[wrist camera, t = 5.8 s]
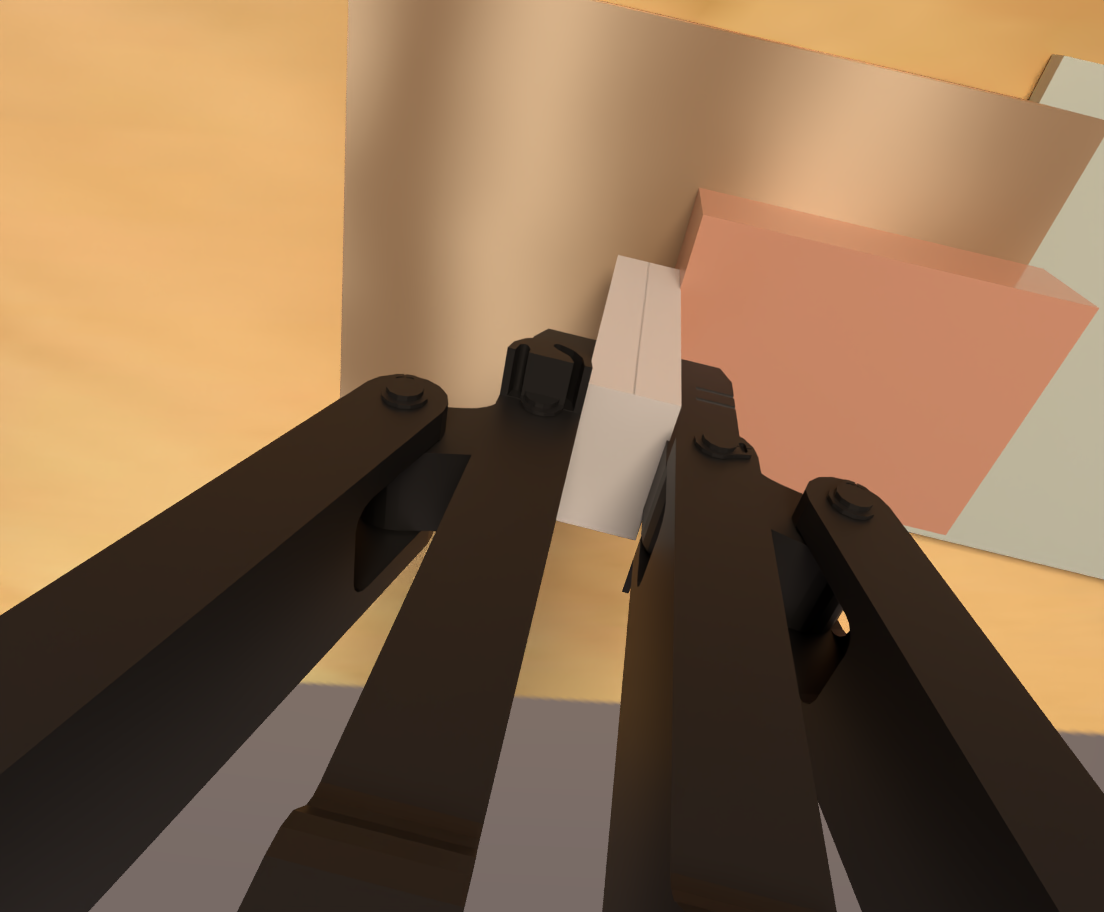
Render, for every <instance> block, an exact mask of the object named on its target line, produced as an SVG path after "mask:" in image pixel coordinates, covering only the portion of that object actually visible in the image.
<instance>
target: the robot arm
mask: <svg viewBox="0 0 1104 912" xmlns="http://www.w3.org/2000/svg"><path fill="white" fill-rule="evenodd" d="M733 397H734V394H733V387H732V382H731V381H730V380H729V378H728V377H727V376H726V375H725V374H724V372H723V371H722V370H721V369H720V368H717V367H713V366H708V365H704V364H700V363H696V362H692V361H688V360H684V359H681V290H680V270H679V269H675V268H670V267H666V266H662V265H658V264H654V263H650V262H646V261H641V260H637V259H633V258H629V257H625V256H621V255H618V257H617V261H616V265H615V269H614V273H613V277H612V281H611V285H610V289H609V293H608V297H607V301H606V305H605V309H604V313H603V317H602V321H601V325H600V329H599V333H598V337H597V340H594V339H590V338H585V337H581V336H577V335H573V334H569V333H565V332H561V331H557V330H553V329H547V330H545V331H543V332H541V333H539V334H537V335H535V336H534V337H533V338H524V339H520V340H517V341H514V342H513V343H512V344H511V345H510V346H508V348H507V354H506V360H505V366H504V372H503V378H502V384H501V390H500V395H499V397H498V399H497V401H496V403H495V404H494V405H491V406H487V407H480V408H454V407H448V404H449V403H448V396H447V394H446V393H445V391H444V390H443V389H442V388H441V387H440V386H438V385H437V384H435V383H433V382H431V381H429V380H427V379H423V378H420V377H417V376H414V375H409V374H406V375H404V374H393V375H386V376H379V377H377V378H374V379H372V380H369V381H367V382H365V383H364V384H362V385H361V386H359V387H357V388H356V389H354V390H353V391H351V392H350V393H348V394H346V395H345V396H343V397H342V398H340V399H339V400H337V401H336V402H334V403H332V404H331V405H329V406H328V407H326V408H325V409H323V410H321V411H320V412H318V413H317V414H315V415H314V416H312V417H310V418H309V419H307V420H306V421H304V422H303V423H301V424H299V425H298V426H296V427H295V428H293V429H292V430H290V431H289V432H287V433H285V434H284V435H282V436H281V437H279V438H278V439H276V440H274V441H273V442H271V443H270V444H268V445H267V446H265V447H263V448H262V449H260V450H259V451H257V452H256V453H254V454H252V455H251V456H249V457H248V458H246V459H245V460H243V461H242V462H240V463H238V464H237V465H235V466H234V467H232V468H231V469H229V470H227V471H226V472H224V473H223V474H221V475H220V476H218V477H216V478H215V479H213V480H212V481H210V482H209V483H207V484H206V485H204V486H202V487H201V488H199V489H198V490H196V491H195V492H193V493H191V494H190V495H188V496H187V497H185V498H184V499H182V500H180V501H179V502H177V503H176V504H174V505H173V506H171V507H169V508H168V509H166V510H165V511H163V512H162V513H160V514H159V515H157V516H155V517H154V518H152V519H151V520H149V521H148V522H146V523H144V524H143V525H141V526H140V527H138V528H137V529H135V530H133V531H132V532H130V533H129V534H127V535H126V536H124V537H122V538H121V539H119V540H118V541H116V542H115V543H113V544H112V545H110V546H108V547H107V548H105V549H104V550H102V551H101V552H99V553H97V554H96V555H94V556H93V557H91V558H90V559H88V560H86V561H85V562H83V563H82V564H80V565H79V566H77V567H76V568H74V569H72V570H71V571H69V572H68V573H66V574H65V575H63V576H61V577H60V578H58V579H57V580H55V581H54V582H52V583H50V584H49V585H47V586H46V587H44V588H43V589H41V590H39V591H38V592H36V593H35V594H33V595H32V596H30V597H29V598H27V599H25V600H24V601H22V602H21V603H19V604H18V605H16V606H14V607H13V608H11V609H10V610H8V611H7V612H5V613H3V614H2V615H0V912H88V911H89V910H90V909H91V908H92V907H93V906H94V905H95V904H96V903H97V902H98V900H99V899H100V898H101V897H102V896H103V895H104V894H105V893H106V892H107V891H108V890H109V889H110V888H111V887H112V885H113V884H114V883H115V882H116V881H117V880H118V879H119V878H120V877H121V876H122V874H123V873H124V872H125V871H126V870H127V869H128V868H129V867H130V866H131V865H132V864H133V863H134V862H135V860H136V859H137V858H138V857H139V856H140V855H141V854H142V853H143V852H144V851H145V850H146V849H147V847H148V846H149V845H150V844H151V843H152V842H153V841H154V840H155V839H156V838H157V837H158V836H159V834H160V833H161V832H162V831H163V830H164V829H165V828H166V827H167V826H168V825H169V824H170V823H171V821H172V820H173V819H174V818H175V817H176V816H177V815H178V814H179V813H180V812H181V811H182V809H183V808H184V807H185V806H186V805H187V804H188V803H189V802H190V801H191V800H192V798H193V797H194V796H195V795H196V794H197V793H198V792H199V791H200V790H201V789H202V788H203V786H205V785H206V783H207V782H208V781H209V780H210V779H211V778H212V777H213V776H214V775H215V774H216V773H217V772H218V770H219V769H220V768H221V767H222V766H223V765H224V764H225V763H226V762H227V761H228V760H229V758H230V757H231V756H232V755H233V754H234V753H235V752H236V751H237V750H238V749H239V748H240V747H241V745H242V744H243V743H244V742H245V741H246V740H247V739H248V738H249V737H250V736H251V734H252V733H253V732H254V731H255V730H256V729H257V728H258V727H259V726H260V725H261V724H262V723H263V722H264V720H265V719H266V718H267V717H268V716H269V715H270V714H271V713H272V712H273V711H274V709H276V708H277V706H278V705H279V704H280V703H281V702H282V701H283V700H284V699H285V698H286V697H287V696H288V694H289V693H290V692H291V691H292V690H293V689H294V688H295V687H296V686H297V685H298V684H299V683H300V681H301V680H302V679H303V678H304V677H305V676H306V675H307V674H308V673H309V672H310V671H311V670H312V668H313V667H314V666H315V665H316V664H317V663H318V662H319V661H320V660H321V659H322V658H323V657H324V655H325V654H326V653H327V652H328V651H329V650H330V649H331V648H332V647H333V646H334V645H335V643H336V642H337V641H338V640H339V639H340V638H341V637H342V636H343V635H344V634H345V633H346V632H347V630H348V629H349V628H350V627H351V626H352V625H353V624H354V623H355V622H356V621H357V620H358V619H359V617H360V616H361V615H362V614H363V613H364V612H365V611H366V610H367V609H368V608H369V607H370V606H371V604H372V603H373V602H374V601H375V600H376V599H377V598H378V597H379V596H380V595H381V594H382V593H383V591H384V590H385V589H386V588H387V587H388V586H389V585H390V584H391V583H392V582H393V581H394V579H395V578H396V577H397V576H398V575H399V574H400V573H401V572H402V571H403V570H404V569H405V568H406V566H407V565H408V564H409V563H410V562H411V561H412V560H413V559H414V558H415V557H416V556H417V555H418V553H419V552H420V551H421V550H422V549H423V548H424V547H425V546H426V545H427V544H428V542H429V540H430V538H431V536H432V534H433V531H436V533H435V535H434V537H433V540H432V542H431V544H430V546H429V548H428V550H427V553H426V555H425V557H424V559H423V561H422V563H421V566H420V568H419V570H418V572H417V574H416V576H415V579H414V581H413V583H412V585H411V587H410V589H409V591H408V594H407V596H406V598H405V600H404V602H403V604H402V607H401V609H400V611H399V613H398V615H397V617H396V620H395V622H394V624H393V626H392V628H391V630H390V633H389V635H388V637H387V639H386V641H385V643H384V646H383V648H382V650H381V652H380V654H379V656H378V659H377V661H376V663H375V665H374V667H373V669H372V671H371V674H370V676H369V678H368V680H367V682H366V684H365V687H364V689H363V691H362V693H361V695H360V697H359V700H358V702H357V704H356V706H355V708H354V710H353V713H352V715H351V717H350V719H349V721H348V723H347V726H346V728H345V730H344V732H343V734H342V736H341V739H340V741H339V743H338V745H337V747H336V749H335V752H334V754H333V756H332V758H331V760H330V763H329V764H328V767H327V769H326V771H325V773H324V775H323V777H322V780H321V782H320V784H319V786H318V788H317V790H316V791H315V793H314V795H313V797H312V798H311V799H310V801H309V802H308V803H307V805H305V806H303V807H300V808H297V809H295V810H293V811H292V813H291V814H290V815H289V816H288V818H287V819H286V820H285V822H284V823H283V824H282V825H281V827H280V829H279V830H278V833H277V834H276V836H275V838H274V840H273V841H272V843H271V845H270V847H269V849H268V851H267V852H266V854H265V856H264V858H263V860H262V862H261V864H260V866H259V869H258V870H257V872H256V874H255V876H254V879H253V881H252V883H251V885H250V887H249V889H248V891H247V893H246V895H245V897H244V899H243V901H242V903H241V905H240V907H239V909H238V911H237V912H463V911H464V907H465V902H466V898H467V894H468V890H469V886H470V881H471V877H472V872H473V868H474V864H475V860H476V855H477V849H478V845H479V841H480V836H481V832H482V828H483V824H484V819H485V815H486V811H487V807H488V803H489V799H490V794H491V790H492V785H493V782H494V777H495V773H496V769H497V764H498V761H499V757H500V752H501V748H502V744H503V740H504V736H505V731H506V727H507V723H508V719H509V714H510V710H511V706H512V702H513V698H514V694H515V689H516V685H517V681H518V677H519V673H520V669H521V664H522V660H523V656H524V652H525V648H526V643H527V639H528V635H529V631H530V627H531V622H532V618H533V614H534V610H535V606H536V601H537V597H538V593H539V589H540V585H541V580H542V576H543V572H544V568H545V564H546V560H547V555H548V551H549V547H550V543H551V539H552V534H553V530H554V526H555V522H556V521H560V522H564V523H568V524H572V525H576V526H580V527H584V528H588V529H592V530H596V531H600V532H604V533H608V534H612V535H616V536H620V537H624V538H628V539H632V540H636V537H637V534H638V531H639V528H640V525H641V523H642V532H641V539H640V541H639V544H638V547H637V550H636V553H635V556H634V559H633V561H632V564H631V567H630V570H629V573H628V576H627V579H626V582H625V584H624V587H623V590H622V592H625V593H629V591H630V589H631V591H630V603H629V614H628V625H627V637H626V648H625V660H624V671H623V682H622V694H621V705H620V717H619V728H618V739H617V740H618V741H617V751H616V763H615V774H614V785H613V797H612V808H611V820H610V831H609V842H608V853H607V865H606V877H605V888H604V900H603V910H602V912H837V911H836V905H835V900H834V894H833V888H832V882H831V876H830V870H829V865H828V859H827V853H826V847H825V841H824V835H823V830H822V824H821V818H820V812H819V806H818V803H819V805H820V808H821V810H822V813H823V815H824V817H825V820H826V822H827V825H828V828H829V830H830V832H831V835H832V838H833V840H834V842H835V845H836V848H837V850H838V853H839V855H840V858H841V860H842V863H843V865H844V868H845V870H846V873H847V875H848V878H849V880H850V883H851V885H852V888H853V890H854V893H855V895H856V898H857V900H858V903H859V905H860V908H861V910H862V912H1104V793H1103V792H1102V791H1101V789H1100V788H1099V787H1098V785H1097V784H1096V783H1095V781H1094V780H1093V778H1092V777H1091V776H1090V775H1089V773H1088V772H1087V770H1086V769H1085V768H1084V767H1083V765H1082V764H1081V763H1080V761H1079V760H1078V758H1077V757H1076V756H1075V754H1074V753H1073V752H1072V750H1071V749H1070V748H1069V746H1068V745H1067V744H1066V742H1065V741H1064V740H1063V738H1062V737H1061V736H1060V734H1059V733H1058V732H1057V730H1056V729H1055V728H1054V726H1053V725H1052V724H1051V722H1050V721H1049V720H1048V718H1047V717H1046V716H1045V714H1044V713H1043V712H1042V710H1041V709H1040V708H1039V706H1038V705H1037V704H1036V702H1035V701H1034V700H1033V698H1032V697H1031V696H1030V694H1029V693H1028V692H1027V690H1026V689H1025V687H1024V686H1023V685H1022V683H1021V682H1020V681H1019V679H1018V678H1017V677H1016V675H1015V674H1014V673H1013V671H1012V670H1011V669H1010V667H1009V666H1008V665H1007V663H1006V662H1005V661H1004V659H1003V658H1002V657H1001V655H1000V654H999V653H998V651H997V650H996V649H995V647H994V646H993V645H992V643H991V642H990V641H989V639H988V638H987V637H986V635H985V634H984V633H983V631H982V630H981V629H980V627H979V626H978V625H977V623H976V622H975V621H974V619H973V618H972V617H971V615H970V614H969V613H968V611H967V610H966V609H965V607H964V606H963V605H962V603H961V602H960V601H959V599H958V598H957V597H956V595H955V594H954V593H953V591H952V590H951V588H950V587H949V586H948V584H947V583H946V582H945V580H944V579H943V578H942V576H941V575H940V574H939V572H938V571H937V570H936V568H935V567H934V566H933V564H932V563H931V562H930V560H929V559H928V558H927V556H926V555H925V554H924V552H923V551H922V550H921V548H920V547H919V546H918V544H917V543H916V542H915V540H914V539H913V538H912V536H911V535H910V534H909V532H908V531H907V530H906V528H905V527H904V526H903V524H902V523H901V522H900V520H899V519H898V518H897V516H896V515H895V514H894V512H893V511H892V510H891V508H890V507H889V506H888V505H887V504H886V503H885V502H884V501H883V500H882V499H881V498H880V497H878V496H877V495H875V494H874V493H872V492H871V491H869V490H868V489H867V488H866V487H864V486H862V485H860V484H858V483H857V484H855V482H853V481H850V480H846V479H839V478H835V477H817V478H815V479H813V480H811V481H809V482H808V484H807V486H806V488H805V490H804V492H803V494H802V493H800V492H797V491H795V490H793V489H791V488H788V487H786V486H784V485H781V484H779V483H777V482H775V481H773V480H771V479H769V478H768V477H766V476H765V475H763V474H762V473H761V469H760V464H759V458H758V455H757V453H756V451H755V449H754V448H753V447H752V446H751V445H750V444H749V443H748V442H747V441H746V440H745V439H744V438H742V437H740V436H739V429H738V422H737V415H736V409H735V401H734V398H733ZM842 611H844V612H845V614H846V617H847V619H848V622H849V627H850V631H849V632H848V633H847V634H846V633H845V632H844V630H843V629H842V627H841V625H840V623H839V621H838V620H837V619H838V618H839V616H840V614H841V613H842ZM817 800H818V801H817Z"/></svg>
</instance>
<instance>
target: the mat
mask: <svg viewBox="0 0 1104 912" xmlns="http://www.w3.org/2000/svg"><path fill="white" fill-rule="evenodd" d="M1029 101H1033V102H1037V103H1040V104H1044V105H1048V106H1052V107H1056V108H1060V109H1064V110H1068V111H1071V112H1075V113H1079V114H1083V115H1087V116H1091V117H1095V118H1099V119H1103V120H1104V65H1102V64H1098V63H1093V62H1089V61H1085V60H1080V59H1076V58H1072V57H1068V56H1062V55H1054V54H1053V55H1052V56H1051V58H1050V60H1049V62H1048V64H1047V66H1046V68H1045V70H1044V72H1043V74H1042V76H1041V78H1040V79H1039V81H1038V83H1037V85H1036V87H1035V89H1034V91H1033V93H1032V95H1031V97H1030V99H1029ZM1028 265H1030V266H1034V267H1039V268H1043V269H1044V270H1046V271H1047V272H1049V273H1050V274H1051V275H1053V276H1054V277H1056V278H1057V279H1059V280H1060V281H1061V282H1063V283H1064V284H1066V285H1067V286H1069V287H1070V288H1071V289H1073V290H1074V291H1076V292H1077V293H1078V294H1080V295H1081V296H1083V297H1084V298H1086V299H1087V300H1088V301H1090V302H1091V303H1093V304H1094V305H1096V306H1097V307H1098V308H1099V310H1098V311H1097V313H1096V314H1095V316H1094V317H1093V318H1092V320H1091V321H1090V323H1089V324H1088V326H1087V327H1086V329H1085V330H1084V332H1083V333H1082V335H1081V336H1080V338H1079V339H1078V341H1077V342H1076V344H1075V345H1074V347H1073V348H1072V349H1071V351H1070V352H1069V354H1068V355H1067V357H1066V358H1065V360H1064V361H1063V363H1062V364H1061V366H1060V367H1059V369H1058V370H1057V372H1056V373H1055V375H1054V376H1053V378H1052V379H1051V380H1050V382H1049V383H1048V385H1047V386H1046V388H1045V389H1044V391H1043V392H1042V394H1041V395H1040V397H1039V398H1038V400H1037V401H1036V403H1035V404H1034V406H1033V407H1032V409H1031V410H1030V412H1029V413H1028V414H1027V416H1026V417H1025V419H1024V420H1023V422H1022V423H1021V425H1020V426H1019V428H1018V429H1017V431H1016V432H1015V434H1014V435H1013V437H1012V438H1011V440H1010V441H1009V443H1008V444H1007V445H1006V447H1005V448H1004V450H1003V451H1002V453H1001V454H1000V456H999V457H998V459H997V460H996V462H995V463H994V465H993V466H992V468H991V469H990V471H989V472H988V474H987V475H986V476H985V478H984V479H983V481H982V482H981V484H980V485H979V487H978V488H977V490H976V491H975V493H974V494H973V496H972V497H971V499H970V500H969V502H968V503H967V505H966V506H965V507H964V509H963V510H962V512H961V513H960V515H959V516H958V518H957V519H956V521H955V522H954V524H953V525H952V527H951V528H950V530H949V531H948V533H947V534H946V535H942V534H938V533H934V532H930V531H926V530H922V529H917V528H913V527H909V526H905V525H903V526H904V527H905V528H906V530H907V531H908V532H911V533H915V534H919V535H924V536H928V537H932V538H936V539H940V540H944V541H948V542H952V543H956V544H960V545H965V546H969V547H973V548H977V549H981V550H985V551H989V552H993V553H997V554H1001V555H1006V556H1010V557H1014V558H1018V559H1022V560H1026V561H1030V562H1034V563H1038V564H1042V565H1047V566H1051V567H1055V568H1059V569H1063V570H1067V571H1071V572H1075V573H1079V574H1083V575H1088V576H1092V577H1096V578H1100V579H1104V138H1103V140H1102V141H1101V143H1100V145H1099V146H1098V148H1097V150H1096V151H1095V153H1094V155H1093V156H1092V158H1091V160H1090V162H1089V163H1088V165H1087V167H1086V168H1085V170H1084V172H1083V173H1082V175H1081V177H1080V178H1079V180H1078V182H1077V183H1076V185H1075V187H1074V188H1073V190H1072V192H1071V194H1070V195H1069V197H1068V199H1067V200H1066V202H1065V204H1064V205H1063V207H1062V209H1061V210H1060V212H1059V214H1058V215H1057V217H1056V219H1055V220H1054V222H1053V224H1052V226H1051V227H1050V229H1049V231H1048V232H1047V234H1046V236H1045V237H1044V239H1043V241H1042V242H1041V244H1040V246H1039V247H1038V249H1037V251H1036V252H1035V254H1034V256H1033V257H1032V259H1031V261H1030V263H1029V264H1028Z"/></svg>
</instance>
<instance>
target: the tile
mask: <svg viewBox="0 0 1104 912" xmlns="http://www.w3.org/2000/svg"><path fill="white" fill-rule="evenodd" d="M675 269H679V270H680V290H681V359H684V360H688V361H692V362H696V363H700V364H704V365H708V366H713V367H717V368H720V369H721V370H722V371H723V372H724V374H725V375H726V376H727V377H728V378H729V380H730V381H731V382H732V387H733V394H734V397H733V398H734V401H735V409H736V415H737V422H738V429H739V436H740V437H742V438H744V439H745V440H746V441H747V442H748V443H749V444H750V445H751V446H752V447H753V448H754V449H755V451H756V453H757V455H758V458H759V464H760V469H761V473H762V474H763V475H765V476H766V477H768V478H769V479H771V480H773V481H775V482H777V483H779V484H781V485H784V486H786V487H788V488H791V489H793V490H795V491H797V492H800V493H802V494H803V492H804V490H805V488H806V486H807V484H808V482H809V481H811V480H813V479H815V478H817V477H835V478H839V479H846V480H850V481H853V482H855V484H857V483H858V484H860V485H862V486H864V487H866V488H867V489H868V490H869V491H871V492H872V493H874V494H875V495H877V496H878V497H880V498H881V499H882V500H883V501H884V502H885V503H886V504H887V505H888V506H889V507H890V508H891V510H892V511H893V512H894V514H895V515H896V516H897V518H898V519H899V520H900V522H901V523H902V524H903V525H905V526H909V527H913V528H917V529H922V530H926V531H930V532H934V533H938V534H942V535H946V534H947V533H948V531H949V530H950V528H951V527H952V525H953V524H954V522H955V521H956V519H957V518H958V516H959V515H960V513H961V512H962V510H963V509H964V507H965V506H966V505H967V503H968V502H969V500H970V499H971V497H972V496H973V494H974V493H975V491H976V490H977V488H978V487H979V485H980V484H981V482H982V481H983V479H984V478H985V476H986V475H987V474H988V472H989V471H990V469H991V468H992V466H993V465H994V463H995V462H996V460H997V459H998V457H999V456H1000V454H1001V453H1002V451H1003V450H1004V448H1005V447H1006V445H1007V444H1008V443H1009V441H1010V440H1011V438H1012V437H1013V435H1014V434H1015V432H1016V431H1017V429H1018V428H1019V426H1020V425H1021V423H1022V422H1023V420H1024V419H1025V417H1026V416H1027V414H1028V413H1029V412H1030V410H1031V409H1032V407H1033V406H1034V404H1035V403H1036V401H1037V400H1038V398H1039V397H1040V395H1041V394H1042V392H1043V391H1044V389H1045V388H1046V386H1047V385H1048V383H1049V382H1050V380H1051V379H1052V378H1053V376H1054V375H1055V373H1056V372H1057V370H1058V369H1059V367H1060V366H1061V364H1062V363H1063V361H1064V360H1065V358H1066V357H1067V355H1068V354H1069V352H1070V351H1071V349H1072V348H1073V347H1074V345H1075V344H1076V342H1077V341H1078V339H1079V338H1080V336H1081V335H1082V333H1083V332H1084V330H1085V329H1086V327H1087V326H1088V324H1089V323H1090V321H1091V320H1092V318H1093V317H1094V316H1095V314H1096V313H1097V311H1098V310H1099V308H1098V307H1097V306H1096V305H1094V304H1093V303H1091V302H1090V301H1088V300H1087V299H1086V298H1084V297H1083V296H1081V295H1080V294H1078V293H1077V292H1076V291H1074V290H1073V289H1071V288H1070V287H1069V286H1067V285H1066V284H1064V283H1063V282H1061V281H1060V280H1059V279H1057V278H1056V277H1054V276H1053V275H1051V274H1050V273H1049V272H1047V271H1046V270H1044V269H1043V268H1039V267H1034V266H1030V265H1025V264H1021V263H1017V262H1013V261H1008V260H1004V259H1000V258H996V257H992V256H987V255H983V254H979V253H975V252H970V251H966V250H962V249H958V248H953V247H949V246H945V245H941V244H936V243H932V242H928V241H924V240H919V239H915V238H911V237H907V236H902V235H898V234H894V233H890V232H885V231H881V230H877V229H873V228H869V227H864V226H860V225H856V224H852V223H847V222H843V221H839V220H835V219H830V218H826V217H822V216H818V215H813V214H809V213H805V212H801V211H796V210H792V209H788V208H784V207H779V206H775V205H771V204H767V203H763V202H758V201H754V200H750V199H746V198H741V197H737V196H733V195H729V194H724V193H720V192H716V191H712V190H707V189H703V188H699V189H698V193H697V196H696V199H695V203H694V206H693V209H692V213H691V216H690V220H689V223H688V226H687V230H686V233H685V236H684V240H683V243H682V246H681V250H680V253H679V256H678V260H677V263H676V266H675Z"/></svg>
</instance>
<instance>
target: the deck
mask: <svg viewBox="0 0 1104 912" xmlns="http://www.w3.org/2000/svg"><path fill="white" fill-rule="evenodd" d="M1103 138H1104V120H1103V119H1099V118H1095V117H1091V116H1087V115H1083V114H1079V113H1075V112H1071V111H1068V110H1064V109H1060V108H1056V107H1052V106H1048V105H1044V104H1040V103H1037V102H1033V101H1029V100H1025V99H1020V98H1016V97H1012V96H1007V95H1003V94H999V93H994V92H990V91H986V90H982V89H977V88H973V87H969V86H964V85H960V84H956V83H952V82H947V81H943V80H939V79H934V78H930V77H926V76H922V75H917V74H913V73H909V72H904V71H900V70H896V69H892V68H887V67H883V66H879V65H874V64H870V63H866V62H861V61H857V60H853V59H849V58H844V57H840V56H836V55H831V54H827V53H823V52H819V51H814V50H810V49H806V48H801V47H797V46H793V45H789V44H784V43H780V42H776V41H771V40H767V39H763V38H759V37H754V36H750V35H746V34H741V33H737V32H733V31H729V30H724V29H720V28H716V27H711V26H707V25H703V24H698V23H694V22H690V21H686V20H681V19H677V18H673V17H668V16H664V15H660V14H656V13H651V12H647V11H643V10H638V9H634V8H630V7H626V6H621V5H617V4H613V3H608V2H604V1H600V0H348V42H347V90H346V138H345V187H344V235H343V284H342V332H341V381H340V398H342V397H343V396H345V395H346V394H348V393H350V392H351V391H353V390H354V389H356V388H357V387H359V386H361V385H362V384H364V383H365V382H367V381H369V380H372V379H374V378H377V377H379V376H386V375H393V374H404V375H406V374H409V375H414V376H417V377H420V378H423V379H427V380H429V381H431V382H433V383H435V384H437V385H438V386H440V387H441V388H442V389H443V390H444V391H445V393H446V394H447V396H448V403H449V404H448V407H454V408H480V407H487V406H491V405H494V404H495V403H496V401H497V399H498V397H499V395H500V390H501V384H502V378H503V372H504V366H505V360H506V354H507V348H508V346H510V345H511V344H512V343H513V342H514V341H517V340H520V339H524V338H533V337H534V336H535V335H537V334H539V333H541V332H543V331H545V330H547V329H553V330H557V331H561V332H565V333H569V334H573V335H577V336H581V337H585V338H590V339H594V340H597V337H598V333H599V329H600V325H601V321H602V317H603V313H604V309H605V305H606V301H607V297H608V293H609V289H610V285H611V281H612V277H613V273H614V269H615V265H616V261H617V257H618V255H621V256H625V257H629V258H633V259H637V260H641V261H646V262H650V263H654V264H658V265H662V266H666V267H670V268H675V266H676V263H677V260H678V256H679V253H680V250H681V246H682V243H683V240H684V236H685V233H686V230H687V226H688V223H689V220H690V216H691V213H692V209H693V206H694V203H695V199H696V196H697V193H698V189H699V188H703V189H707V190H712V191H716V192H720V193H724V194H729V195H733V196H737V197H741V198H746V199H750V200H754V201H758V202H763V203H767V204H771V205H775V206H779V207H784V208H788V209H792V210H796V211H801V212H805V213H809V214H813V215H818V216H822V217H826V218H830V219H835V220H839V221H843V222H847V223H852V224H856V225H860V226H864V227H869V228H873V229H877V230H881V231H885V232H890V233H894V234H898V235H902V236H907V237H911V238H915V239H919V240H924V241H928V242H932V243H936V244H941V245H945V246H949V247H953V248H958V249H962V250H966V251H970V252H975V253H979V254H983V255H987V256H992V257H996V258H1000V259H1004V260H1008V261H1013V262H1017V263H1021V264H1025V265H1028V264H1029V263H1030V261H1031V259H1032V257H1033V256H1034V254H1035V252H1036V251H1037V249H1038V247H1039V246H1040V244H1041V242H1042V241H1043V239H1044V237H1045V236H1046V234H1047V232H1048V231H1049V229H1050V227H1051V226H1052V224H1053V222H1054V220H1055V219H1056V217H1057V215H1058V214H1059V212H1060V210H1061V209H1062V207H1063V205H1064V204H1065V202H1066V200H1067V199H1068V197H1069V195H1070V194H1071V192H1072V190H1073V188H1074V187H1075V185H1076V183H1077V182H1078V180H1079V178H1080V177H1081V175H1082V173H1083V172H1084V170H1085V168H1086V167H1087V165H1088V163H1089V162H1090V160H1091V158H1092V156H1093V155H1094V153H1095V151H1096V150H1097V148H1098V146H1099V145H1100V143H1101V141H1102V140H1103Z"/></svg>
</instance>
